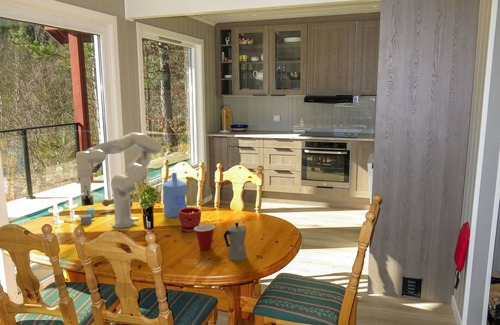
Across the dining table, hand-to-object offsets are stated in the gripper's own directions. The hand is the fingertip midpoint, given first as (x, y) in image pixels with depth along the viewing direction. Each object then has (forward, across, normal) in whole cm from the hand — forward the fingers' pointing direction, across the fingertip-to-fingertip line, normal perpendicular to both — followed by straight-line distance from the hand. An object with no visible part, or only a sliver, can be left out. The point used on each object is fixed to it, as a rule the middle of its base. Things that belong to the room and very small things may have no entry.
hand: (87, 203), depth 237 cm
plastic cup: (+19, +43, +58) cm, 75 cm away
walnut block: (0, 0, 0) cm, 0 cm away
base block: (+19, -22, -4) cm, 29 cm away
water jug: (+20, -22, +52) cm, 60 cm away
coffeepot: (+19, +60, +70) cm, 95 cm away
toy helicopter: (+19, -49, +16) cm, 55 cm away
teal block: (+19, -37, -2) cm, 41 cm away
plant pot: (+19, +11, +56) cm, 61 cm away
